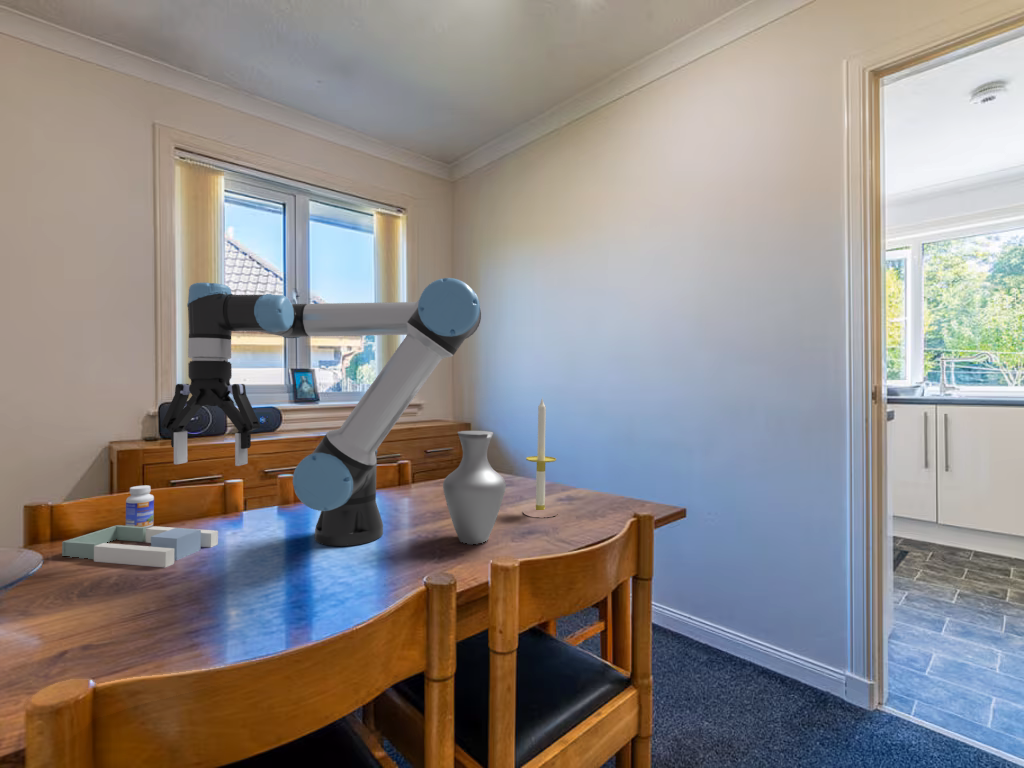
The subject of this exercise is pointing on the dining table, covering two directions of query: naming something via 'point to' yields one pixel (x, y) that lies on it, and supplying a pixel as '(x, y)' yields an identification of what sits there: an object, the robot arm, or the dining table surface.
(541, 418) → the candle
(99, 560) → the chute
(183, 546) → the block
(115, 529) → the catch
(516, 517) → the dining table surface
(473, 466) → the vase
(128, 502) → the pill bottle
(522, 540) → the dining table surface
